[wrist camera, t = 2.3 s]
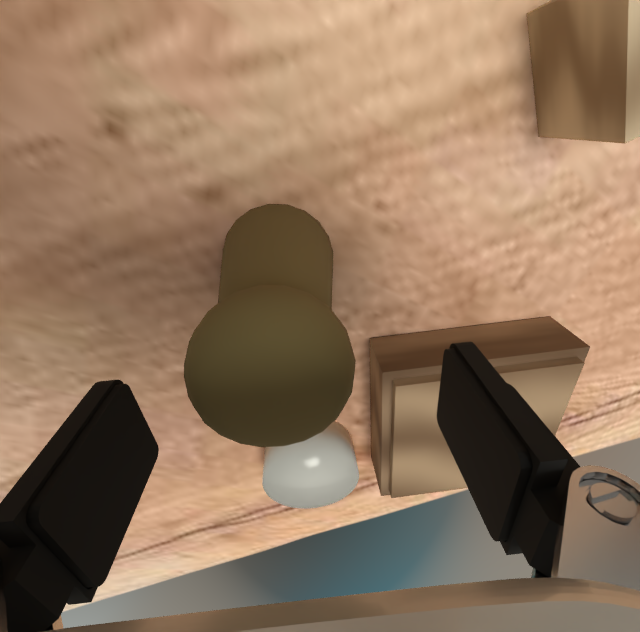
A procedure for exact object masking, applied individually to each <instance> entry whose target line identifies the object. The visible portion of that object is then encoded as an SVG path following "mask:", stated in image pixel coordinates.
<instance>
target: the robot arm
mask: <svg viewBox="0 0 640 632" xmlns="http://www.w3.org/2000/svg"><path fill="white" fill-rule="evenodd" d="M437 422H438V425H439V428H440V430H441V432H442V434H443V436H444V438H445V440H446V442H447V445H448V447H449V449H450V451H451V453H452V455H453V457H454V459H455V462H456V464H457V466H458V468H459V470H460V472H461V474H462V476H463V478H464V481H465V483H466V485H467V487H468V489H469V491H470V493H471V495H472V497H473V500H474V501H475V504H476V506H477V508H478V510H479V512H480V514H481V517H482V519H483V521H484V523H485V525H486V527H487V529H488V531H489V533H490V535H491V537H492V538H493V540H495V541H500V542H501V544H502V546H503V548H504V551H505V553H506V555H511V554H519V553H523V554H524V556H525V558H526V560H527V562H528V563H529V565H530V566H532V567H533V570H532V575H531V578H521V579H507V580H496V581H484V582H473V583H461V584H450V585H439V586H431V587H421V588H413V589H403V590H394V591H384V592H375V593H366V594H357V595H347V596H338V597H330V598H320V599H311V600H303V601H294V602H285V603H276V604H267V605H258V606H250V607H241V608H232V609H223V610H214V611H206V612H197V613H189V614H180V615H172V616H163V617H155V618H146V619H139V620H130V621H121V622H113V623H105V624H96V625H88V626H80V627H72V628H65V629H63V624H62V619H61V613H62V611H63V609H64V607H65V605H66V603H67V604H68V605H70V604H79V603H87V602H91V601H92V599H93V597H94V595H95V592H96V590H97V588H98V586H100V585H102V584H103V583H104V581H105V580H106V578H107V576H108V573H109V571H110V569H111V566H112V564H113V562H114V559H115V557H116V554H117V552H118V550H119V547H120V545H121V543H122V540H123V538H124V535H125V533H126V531H127V528H128V526H129V524H130V521H131V519H132V516H133V514H134V512H135V509H136V507H137V505H138V502H139V500H140V498H141V495H142V493H143V490H144V488H145V486H146V483H147V481H148V479H149V476H150V474H151V471H152V469H153V467H154V464H155V462H156V460H157V457H158V445H157V442H156V440H155V438H154V436H153V434H152V432H151V430H150V428H149V426H148V424H147V422H146V420H145V418H144V416H143V414H142V412H141V410H140V408H139V406H138V403H137V401H136V399H135V397H134V395H133V393H132V391H131V389H130V387H129V386H128V385H127V384H123V382H122V381H120V380H110V381H101V382H97V383H95V384H94V385H93V386H92V388H91V389H90V390H89V391H88V393H87V394H86V395H85V396H84V398H83V399H82V400H81V402H80V403H79V404H78V405H77V407H76V408H75V409H74V410H73V412H72V413H71V414H70V416H69V417H68V418H67V419H66V421H65V422H64V423H63V424H62V426H61V427H60V428H59V430H58V431H57V432H56V433H55V435H54V436H53V437H52V438H51V440H50V441H49V442H48V443H47V445H46V446H45V447H44V449H43V450H42V451H41V452H40V454H39V455H38V456H37V457H36V459H35V460H34V461H33V463H32V464H31V465H30V466H29V468H28V469H27V470H26V471H25V473H24V474H23V475H22V477H21V478H20V479H19V480H18V482H17V483H16V484H15V485H14V487H13V488H12V489H11V491H10V492H9V493H8V494H7V496H6V497H5V498H4V499H3V501H2V502H1V503H0V632H640V485H639V484H638V483H636V482H635V481H634V480H632V479H630V478H629V477H627V476H625V475H623V474H621V473H619V472H617V471H615V470H612V469H608V468H605V467H600V466H590V465H589V466H584V467H580V466H579V465H578V463H577V462H576V461H575V460H574V459H573V457H572V456H571V455H570V454H569V453H568V451H567V450H566V449H565V448H564V447H563V445H562V444H561V443H560V442H559V441H558V439H557V438H556V437H555V436H554V435H553V433H552V432H551V431H550V430H549V429H548V427H547V426H546V425H545V424H544V423H543V421H542V420H541V419H540V418H539V417H538V415H537V414H536V413H535V412H534V411H533V409H532V408H531V407H530V406H529V405H528V403H527V402H526V401H525V400H524V399H523V397H522V396H521V395H520V394H519V393H518V391H517V390H516V389H515V388H514V387H513V386H512V385H510V384H508V383H506V382H505V381H504V379H503V378H502V377H501V376H500V374H499V373H498V372H497V371H496V370H495V368H494V367H493V366H492V365H491V363H490V362H489V361H488V360H487V358H486V357H485V356H484V355H483V354H482V352H481V351H480V350H479V349H478V347H477V346H476V345H475V344H474V343H473V342H471V341H470V342H461V343H452V344H451V345H450V347H449V349H445V350H444V354H443V363H442V372H441V380H440V389H439V398H438V406H437Z"/></svg>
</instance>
